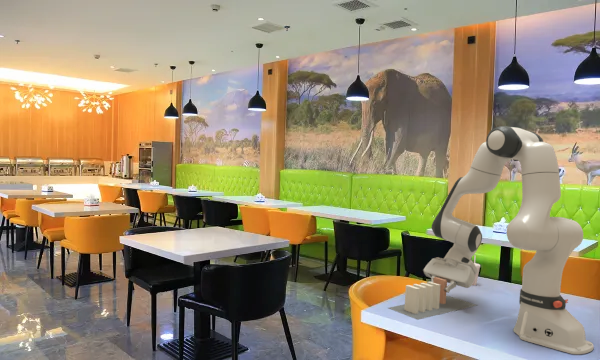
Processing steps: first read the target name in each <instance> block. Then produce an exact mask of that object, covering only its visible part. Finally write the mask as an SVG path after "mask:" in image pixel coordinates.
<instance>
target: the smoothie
mask: <svg viewBox="0 0 600 360" xmlns="http://www.w3.org/2000/svg"><path fill="white" fill-rule="evenodd" d="M473 256H474V258H473V259H474V260H473V263H474V264H475V266H476V268H477V270H478V272H477V274H475V279H474V282H473V283H472V285H471V286H474V285H475V286H477V282H478V278H479V272H480V268H481V264H479V263H477V262H476V256H477V255H476V254H474V255H473Z"/></svg>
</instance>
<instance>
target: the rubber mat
mask: <svg viewBox="0 0 600 360" xmlns="http://www.w3.org/2000/svg"><path fill="white" fill-rule="evenodd" d="M477 306H478V304H475V303H472V302H469V301H465V300H463V299H460V298H456V297H453V296H450V295H446V304H441V303H439V309H435V308H432V310H430V311H429V310H426V309H425V312H421V311H418V313H417V314H414V313H412V312H409V311H406V310H404V309H405V303H404V304H399V305H396V306H395V305H394V306H390V307H388V309H389V310H392V311H394V312H397V313H399V314H402V315H404V316H407V317H410V318H412V319H415V320H417V321H418V320H422V319H426V318H430V317H435V316H440V315H442V314H446V313H452V312H456V311H459V310H465V309H468V308H471V307H477Z"/></svg>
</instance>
